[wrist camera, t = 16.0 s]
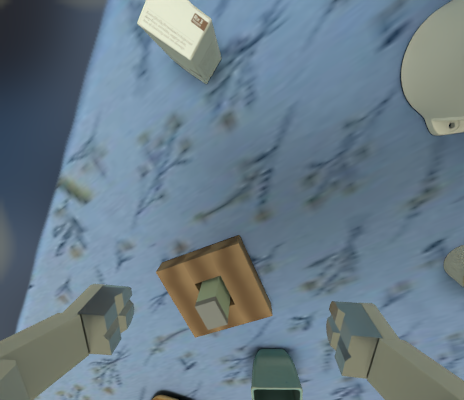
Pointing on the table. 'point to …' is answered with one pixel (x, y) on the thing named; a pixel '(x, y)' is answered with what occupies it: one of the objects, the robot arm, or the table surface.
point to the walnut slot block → (210, 266)
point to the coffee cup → (455, 264)
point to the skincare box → (182, 35)
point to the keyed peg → (213, 303)
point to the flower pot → (275, 376)
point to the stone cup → (163, 397)
